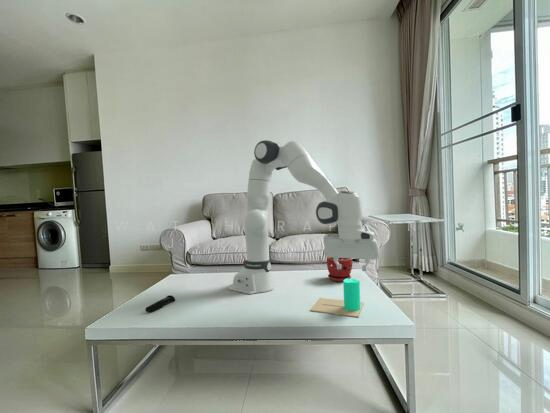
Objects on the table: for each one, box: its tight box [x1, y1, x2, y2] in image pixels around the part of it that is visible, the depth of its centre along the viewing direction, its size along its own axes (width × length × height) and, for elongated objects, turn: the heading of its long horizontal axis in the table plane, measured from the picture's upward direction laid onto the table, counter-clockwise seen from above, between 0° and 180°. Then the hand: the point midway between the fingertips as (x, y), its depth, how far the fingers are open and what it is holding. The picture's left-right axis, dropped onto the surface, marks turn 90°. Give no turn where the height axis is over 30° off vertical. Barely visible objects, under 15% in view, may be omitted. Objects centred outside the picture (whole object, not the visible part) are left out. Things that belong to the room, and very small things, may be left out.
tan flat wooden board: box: [309, 297, 365, 318], centre depth 110 cm, size 18×14×1 cm
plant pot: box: [326, 257, 353, 282], centre depth 147 cm, size 13×13×12 cm
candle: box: [342, 276, 361, 311], centre depth 107 cm, size 6×6×12 cm
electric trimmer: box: [144, 295, 176, 313], centre depth 119 cm, size 4×16×3 cm, turn 162°
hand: (351, 269), depth 107 cm, fingers open, 8 cm apart
